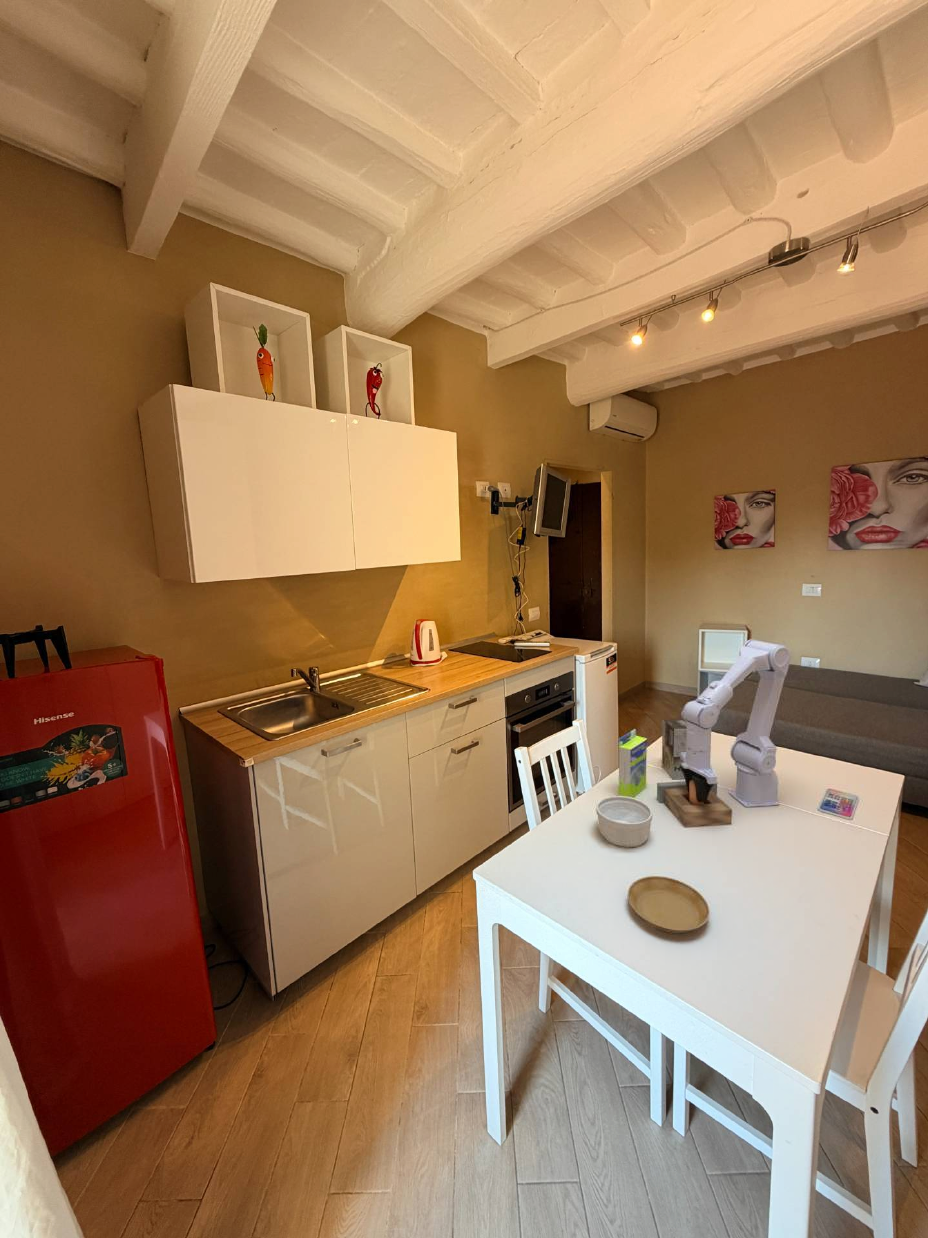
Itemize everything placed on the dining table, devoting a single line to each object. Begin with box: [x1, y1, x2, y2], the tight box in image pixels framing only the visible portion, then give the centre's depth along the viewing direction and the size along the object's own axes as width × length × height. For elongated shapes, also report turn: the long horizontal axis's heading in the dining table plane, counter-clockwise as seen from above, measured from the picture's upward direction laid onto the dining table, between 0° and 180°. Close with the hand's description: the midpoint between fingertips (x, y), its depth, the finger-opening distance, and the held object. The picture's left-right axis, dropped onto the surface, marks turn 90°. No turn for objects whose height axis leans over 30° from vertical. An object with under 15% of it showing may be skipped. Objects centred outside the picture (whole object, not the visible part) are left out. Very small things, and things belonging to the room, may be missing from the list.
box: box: [618, 728, 648, 798], centre depth 141 cm, size 10×4×17 cm, turn 135°
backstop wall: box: [656, 780, 718, 804], centre depth 136 cm, size 16×2×5 cm, turn 92°
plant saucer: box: [627, 875, 710, 934], centre depth 96 cm, size 15×15×3 cm
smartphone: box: [817, 788, 860, 821], centre depth 131 cm, size 7×1×15 cm
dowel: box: [689, 780, 704, 805], centre depth 129 cm, size 4×4×8 cm
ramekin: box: [595, 795, 653, 848], centre depth 122 cm, size 13×13×7 cm
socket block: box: [663, 788, 733, 828], centre depth 130 cm, size 12×12×4 cm
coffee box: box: [661, 717, 687, 780], centre depth 152 cm, size 9×6×16 cm
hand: (696, 796), depth 129 cm, fingers open, 4 cm apart
